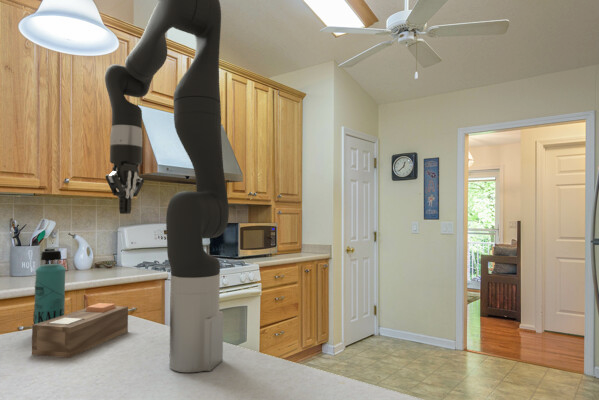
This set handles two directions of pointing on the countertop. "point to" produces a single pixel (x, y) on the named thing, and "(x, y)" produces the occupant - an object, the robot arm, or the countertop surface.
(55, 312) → the beverage bottle
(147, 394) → the countertop surface
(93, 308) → the terracotta plug
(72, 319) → the white plug
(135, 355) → the countertop surface
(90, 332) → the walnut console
